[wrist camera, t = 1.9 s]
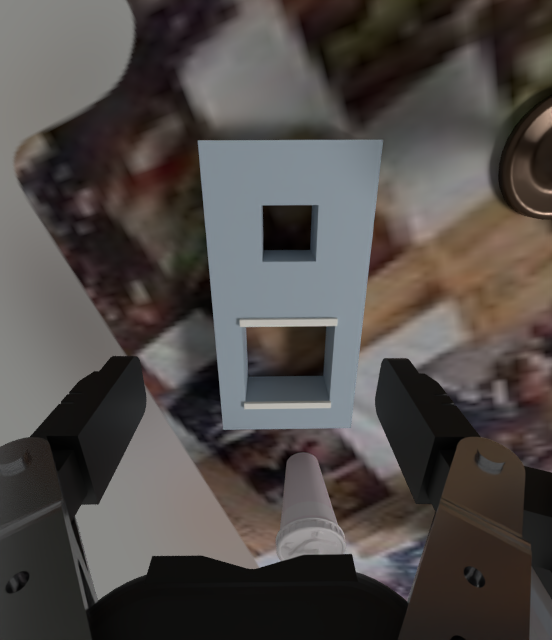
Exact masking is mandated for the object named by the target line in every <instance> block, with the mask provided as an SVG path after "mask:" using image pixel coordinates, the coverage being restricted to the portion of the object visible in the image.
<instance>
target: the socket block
mask: <svg viewBox="0 0 552 640" xmlns="http://www.w3.org/2000/svg"><path fill="white" fill-rule="evenodd" d="M382 146H383V140H198V149H199V161H200V172H201V183H202V194H203V206H204V217H205V228H206V239H207V250H208V262H209V273H210V284H211V295H212V307H213V318H214V329H215V340H216V352H217V363H218V374H219V385H220V397H221V408H222V419H223V430H235V429H309V428H351V422H352V413H353V404H354V395H355V386H356V377H357V368H358V359H359V350H360V341H361V333H362V324H363V315H364V306H365V297H366V288H367V279H368V270H369V261H370V252H371V244H372V235H373V226H374V217H375V208H376V199H377V190H378V181H379V172H380V163H381V155H382ZM263 205H312V218H311V244H310V250H263ZM292 326H326V341H325V356H324V372H323V376H261V377H248V362H247V340H246V327H292Z"/></svg>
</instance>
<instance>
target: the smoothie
mask: <svg viewBox="0 0 552 640" xmlns="http://www.w3.org/2000/svg"><path fill="white" fill-rule="evenodd" d="M276 546H277V555H278V557H279V559H280V560H281V561H284V560H288V559H291V558H294V557H297V556H301V555H321V554H345V552H346V543H345V536H344V532H343V530H342V529H341V528H340V527H339V526H338V523H337V520H336V517H335V514H334V511H333V508H332V505H331V501H330V498H329V495H328V492H327V489H326V486H325V482H324V479H323V476H322V473H321V470H320V467H319V464H318V461H317V459H316V457H315V456H313V455H312V454H309V453H304V452H302V453H296V454H294V455H292V456H291V457H290V458H289V459H288V460H287V463H286V474H285V484H284V494H283V505H282V515H281V525H280V531H279V532H278V534H277V537H276Z"/></svg>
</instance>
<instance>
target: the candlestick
mask: <svg viewBox="0 0 552 640" xmlns="http://www.w3.org/2000/svg"><path fill="white" fill-rule="evenodd" d="M498 177H499V185H500V189H501V192H502V195H503V197H504V199H505V200H506V202H507V203H508V205H509V206H510V207H511V208H512V209H514V210H515V211H516V212H518V213H520V214H522V215H524V216H528V217H532V218H537V219H552V95H551V96H549V97H547V98H546V99H544V100H543V101H541V102H540V103H538V104H536V105H535V106H534V107H533V108H532V109H531V110H530V111H529V112H527V113H526V114H525V115H524V116H523V118H522V119H521V120H520V121H519V123H518V124H517V125H516V126H515V128H514V129H513V131H512V133H511V134H510V136H509V138H508V139H507V142H506V144H505V147H504V149H503V151H502V155H501V159H500V163H499V175H498Z"/></svg>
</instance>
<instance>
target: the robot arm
mask: <svg viewBox="0 0 552 640" xmlns="http://www.w3.org/2000/svg"><path fill="white" fill-rule="evenodd" d="M375 407H376V412H377V416H378V418H379V420H380V423H381V425H382V427H383V430H384V432H385V434H386V436H387V439H388V441H389V443H390V446H391V448H392V450H393V452H394V455H395V457H396V459H397V462H398V464H399V466H400V468H401V471H402V473H403V475H404V478H405V480H406V482H407V484H408V487H409V489H410V491H411V494H412V496H413V498H414V501H415V503H416V504H432V505H433V507H434V510H435V515H434V518H433V521H432V524H431V528H430V531H429V534H428V537H427V540H426V544H425V547H424V550H423V553H422V556H421V559H420V563H419V566H418V569H417V572H416V575H415V579H414V582H413V585H412V588H411V591H410V594H409V597H408V600H407V601H406V600H405V599H404V598H402V597H401V596H400V595H399V594H397V593H396V592H395V591H393V590H392V589H390V588H389V587H388V586H386V585H384V584H382V583H381V582H379V581H377V580H375V579H373V578H371V577H368V576H366V575H364V574H360V573H357V572H356V571H355V566H354V561H353V557H352V554H321V555H301V556H297V557H294V558H291V559H288V560H284V561H281V562H278V563H274V564H271V565H268V566H264V567H261V568H258V569H246V568H243V567H240V566H236V565H233V564H229V563H226V562H222V561H218V560H215V559H212V558H208V557H204V556H152V559H151V563H150V566H149V569H148V573H147V575H144V576H141V577H139V578H136V579H134V580H132V581H129V582H127V583H125V584H123V585H122V586H120V587H118V588H116V589H114V590H113V591H111V592H110V593H109V594H107V595H105V596H104V597H102V598H101V599H100V600H98V598H97V595H96V592H95V589H94V585H93V582H92V578H91V574H90V571H89V566H88V562H87V559H86V555H85V551H84V547H83V544H82V540H81V536H80V532H79V528H78V524H77V521H76V518H75V515H76V513H77V511H78V509H79V507H80V506H81V505H82V504H84V505H85V504H99V502H100V500H101V498H102V496H103V494H104V492H105V490H106V488H107V486H108V484H109V482H110V481H111V479H112V476H113V475H114V473H115V470H116V469H117V466H118V465H119V463H120V461H121V459H122V457H123V455H124V452H125V451H126V449H127V447H128V445H129V443H130V441H131V439H132V437H133V435H134V433H135V431H136V429H137V427H138V425H139V423H140V421H141V419H142V417H143V415H144V412H145V408H146V392H145V386H144V380H143V375H142V369H141V363H140V360H139V358H138V357H136V356H113V357H111V358H110V359H109V360H108V361H107V363H106V364H105V365H104V366H103V367H102V369H101V370H100V371H99V372H98V371H94V372H93V373H91V374H90V375H88V376H86V377H85V378H83V379H82V380H80V381H79V382H78V383H77V384H76V385H75V386H74V388H73V389H72V390H71V391H70V392H69V394H68V395H66V397H65V398H64V399H63V400H62V401H61V404H59V405H58V406H57V407H56V408H55V409H54V410H53V411H52V412H51V414H50V415H49V416H48V417H47V418H46V419H45V420H44V422H43V423H42V424H41V425H40V426H39V427H38V428H37V429H36V431H35V432H34V433H33V434H32V435H31V436H30V437H28V438H22V439H18V440H15V441H12V442H9V443H7V444H5V445H3V446H1V447H0V640H552V473H551V472H547V471H543V470H539V469H534V468H530V467H526V466H524V465H523V464H522V462H521V461H520V459H519V458H518V457H517V456H516V455H515V454H514V453H513V452H511V451H510V450H509V449H507V448H506V447H504V446H503V445H501V444H499V443H497V442H494V441H492V440H489V439H486V438H481V437H480V436H479V434H478V433H477V432H476V430H475V429H474V428H473V427H472V425H471V424H470V423H469V422H468V420H467V419H466V418H465V416H464V415H463V414H462V413H461V411H460V410H459V409H458V407H457V406H454V402H453V401H452V400H451V399H450V397H449V396H447V393H446V392H445V391H444V390H443V388H442V387H441V386H440V384H439V383H438V382H436V381H435V380H433V379H432V378H430V377H429V376H427V375H426V374H419V373H418V371H417V370H416V368H415V367H414V366H413V364H412V363H411V362H410V360H409V359H407V358H385V359H383V361H382V363H381V368H380V374H379V379H378V385H377V391H376V397H375Z"/></svg>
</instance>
